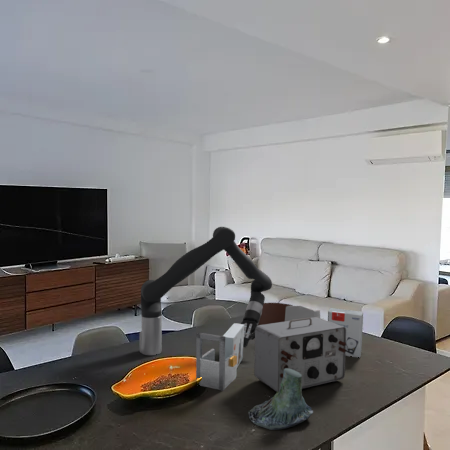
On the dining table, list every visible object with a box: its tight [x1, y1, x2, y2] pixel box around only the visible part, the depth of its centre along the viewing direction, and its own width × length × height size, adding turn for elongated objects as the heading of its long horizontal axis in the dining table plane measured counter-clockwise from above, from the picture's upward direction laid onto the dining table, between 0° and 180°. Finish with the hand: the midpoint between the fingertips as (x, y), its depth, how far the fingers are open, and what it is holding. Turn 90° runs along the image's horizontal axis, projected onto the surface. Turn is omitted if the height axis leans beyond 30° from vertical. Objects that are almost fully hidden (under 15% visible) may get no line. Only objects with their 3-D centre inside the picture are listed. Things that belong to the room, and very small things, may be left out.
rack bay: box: [195, 331, 238, 391], centre depth 167 cm, size 12×13×20 cm
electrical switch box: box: [285, 305, 321, 321], centre depth 215 cm, size 15×15×20 cm
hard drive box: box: [327, 307, 364, 359], centre depth 200 cm, size 16×8×20 cm, turn 68°
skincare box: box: [222, 322, 244, 368], centre depth 182 cm, size 21×5×16 cm, turn 165°
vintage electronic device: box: [253, 317, 346, 392], centre depth 167 cm, size 32×18×25 cm, turn 117°
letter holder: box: [258, 302, 294, 325], centre depth 244 cm, size 10×20×14 cm, turn 79°
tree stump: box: [247, 368, 314, 431], centre depth 141 cm, size 18×20×18 cm
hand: (243, 346), depth 192 cm, fingers closed
